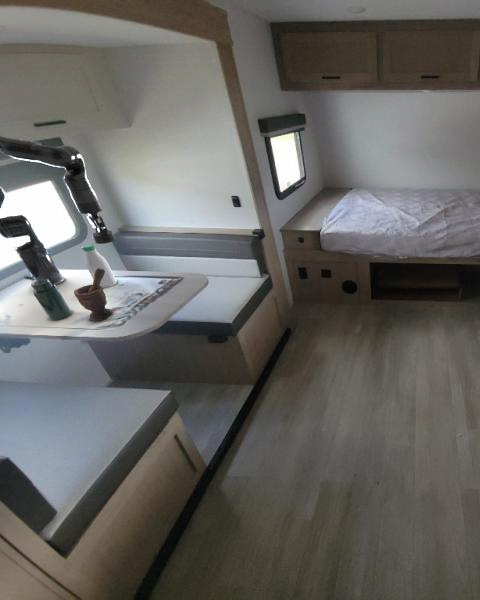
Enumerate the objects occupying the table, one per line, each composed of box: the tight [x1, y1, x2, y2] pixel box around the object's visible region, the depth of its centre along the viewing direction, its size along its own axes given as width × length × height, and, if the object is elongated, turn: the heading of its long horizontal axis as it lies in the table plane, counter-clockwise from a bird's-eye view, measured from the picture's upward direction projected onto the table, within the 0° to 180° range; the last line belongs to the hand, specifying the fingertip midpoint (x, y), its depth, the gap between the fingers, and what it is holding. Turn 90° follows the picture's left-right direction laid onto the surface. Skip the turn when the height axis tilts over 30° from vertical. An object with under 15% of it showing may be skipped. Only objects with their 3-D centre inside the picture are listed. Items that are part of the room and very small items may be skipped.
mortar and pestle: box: [73, 268, 113, 322], centre depth 135 cm, size 12×9×20 cm
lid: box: [91, 230, 116, 245], centre depth 142 cm, size 7×7×3 cm
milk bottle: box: [81, 244, 117, 289], centre depth 156 cm, size 8×8×20 cm
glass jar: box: [30, 279, 73, 321], centre depth 135 cm, size 7×7×16 cm
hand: (104, 238), depth 142 cm, fingers closed on lid, 7 cm apart
